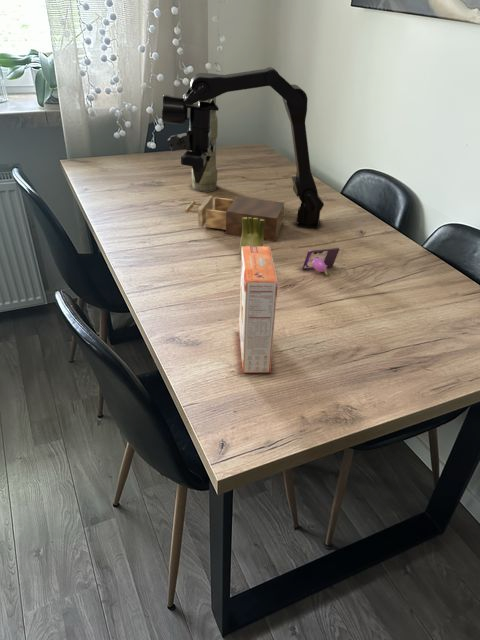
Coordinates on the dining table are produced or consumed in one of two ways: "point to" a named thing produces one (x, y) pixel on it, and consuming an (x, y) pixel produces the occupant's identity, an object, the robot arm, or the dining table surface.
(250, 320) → the cracker box
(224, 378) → the dining table surface
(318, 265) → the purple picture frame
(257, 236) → the fennel bulb
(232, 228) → the cabinet
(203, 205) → the drawer
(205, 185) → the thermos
